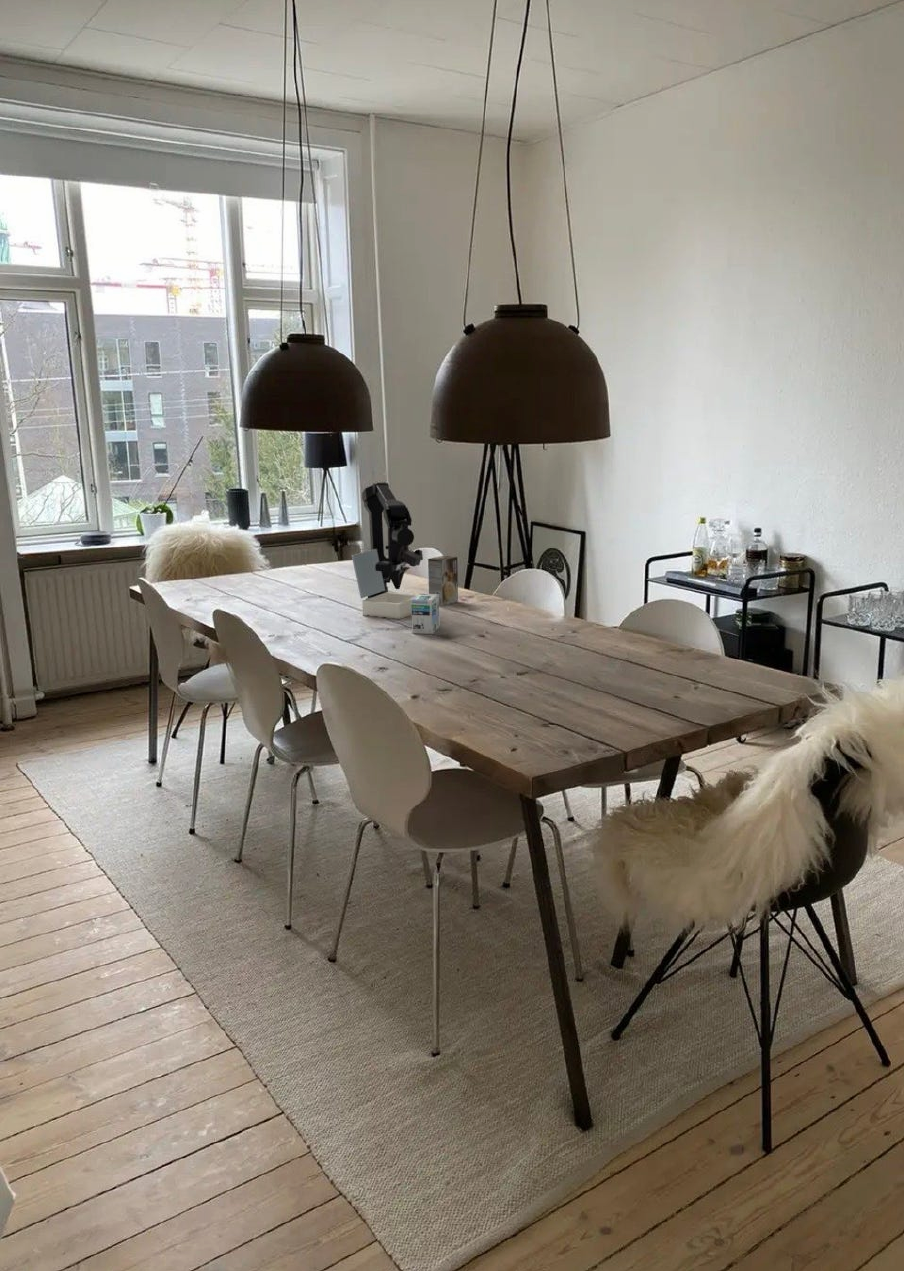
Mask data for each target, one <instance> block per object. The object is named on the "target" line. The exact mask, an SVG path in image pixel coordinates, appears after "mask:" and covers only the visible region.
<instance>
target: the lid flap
mask: <svg viewBox="0 0 904 1271" xmlns="http://www.w3.org/2000/svg"><path fill="white" fill-rule="evenodd" d="M351 559H352V564H353V568H354V569H353V570H354V574H355V578H356V582H357V588H358V591H359V592H358V593H359V596H360V597H359V598H360V599H364V598H368V596H370V595H373V594H376V593H379V592H382V591H385V587H384V582H383V577H382V573H381V571H375V565H376V564H377V562H379V558H378V554H377V549H373V550H371V549H370V550H367V551H363V552H360V553H355V554H351Z"/></svg>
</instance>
